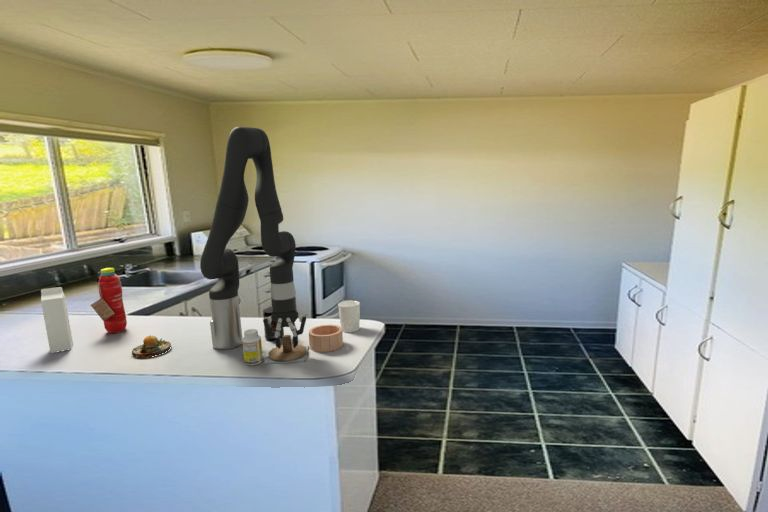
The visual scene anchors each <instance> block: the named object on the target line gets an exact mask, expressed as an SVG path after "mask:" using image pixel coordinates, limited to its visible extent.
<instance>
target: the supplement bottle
mask: <svg viewBox="0 0 768 512" xmlns="http://www.w3.org/2000/svg"><path fill="white" fill-rule="evenodd" d="M243 336H244V337H243V338H242V350H243V351H242V352H243V358H244V359H243V361H244V364H245V365H247V366H257V365H260V364H261V363H263V361H264V358H263V357H264V356H263V346H262V337H261V335H259V332H258V329H255V328H251V329H246V330H244V333H243Z"/></svg>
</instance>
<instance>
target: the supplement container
mask: <svg viewBox="0 0 768 512" xmlns="http://www.w3.org/2000/svg"><path fill="white" fill-rule="evenodd" d="M271 315H272V306H270V307H268V308H267V307H266V308H264V309H262V316H263V317H262V321H263V320H264V318H265V317H270V316H271ZM270 324H271V326H272V328H273V331H275V332H276V327H277V324H276V323H275V322H274V321H273V320H271V323H270ZM263 328H264V337H265V340H267V341H270V342H271V341H272V342H273V341H274V342H275V337H273V336H269V334H268V332H267V330H266V327H265V325H264V324H263ZM284 328H285V327H283V328H281V330H280V334H279V335H280V338H281V340H282V336H284V335H285V330H284Z"/></svg>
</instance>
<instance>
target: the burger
mask: <svg viewBox="0 0 768 512" xmlns="http://www.w3.org/2000/svg"><path fill="white" fill-rule="evenodd" d="M170 347H171V348H172V343H171V342H170V341H167V340H164V339H163V338H160V339H158V337H157V336H155V335H148V336H146V337H144V339H143V344H140V345H138V346H136V347H134V348H133V349H132V350H131V355H133V356H132V357H133V358H134V357H135V358H136V357H137V358H142V359H143V358H144V359H147V357H148V358H151V357H152V356H155V355H159V354H162V353H165V352H166V351H168V350H169V349H170ZM165 354H166V353H165ZM162 355H163V354H162ZM152 358H153V357H152Z"/></svg>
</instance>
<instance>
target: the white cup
mask: <svg viewBox="0 0 768 512" xmlns="http://www.w3.org/2000/svg"><path fill="white" fill-rule="evenodd" d="M337 306H338V315H339V324H340V327H342V333H354V332H357V331H359V330H360V322H361V321H360V320H361V317H360V315H361V313H360V311H361V307H360V306H361V303H360V301H358V300H343V301H340V302H338V305H337Z"/></svg>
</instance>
